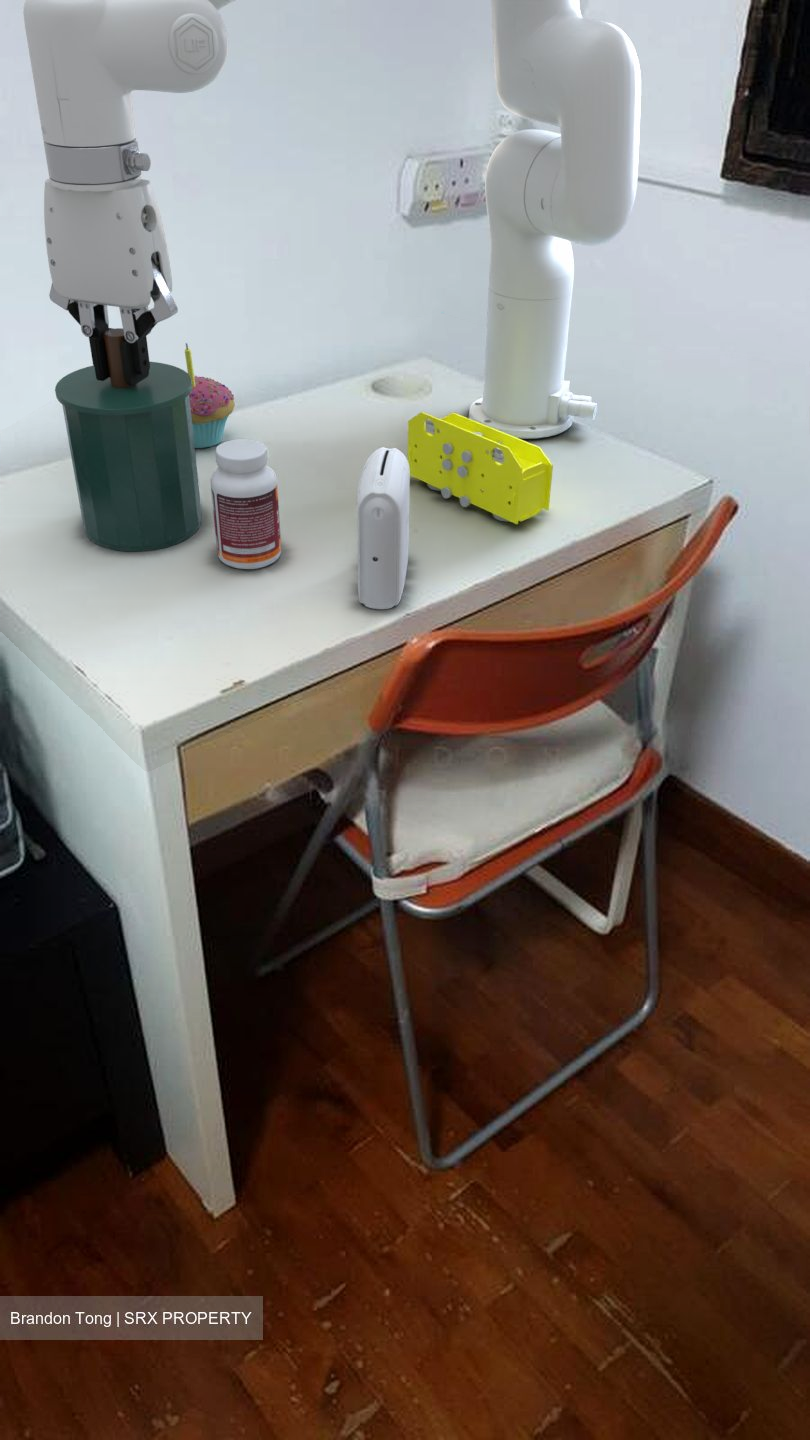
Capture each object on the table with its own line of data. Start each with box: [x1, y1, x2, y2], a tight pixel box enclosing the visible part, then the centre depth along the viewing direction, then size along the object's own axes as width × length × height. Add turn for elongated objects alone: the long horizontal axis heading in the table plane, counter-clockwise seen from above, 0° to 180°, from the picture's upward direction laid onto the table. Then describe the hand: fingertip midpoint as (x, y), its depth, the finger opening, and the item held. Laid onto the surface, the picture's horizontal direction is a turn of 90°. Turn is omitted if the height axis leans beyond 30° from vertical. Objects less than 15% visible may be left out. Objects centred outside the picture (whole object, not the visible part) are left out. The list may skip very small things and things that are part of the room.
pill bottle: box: [210, 438, 282, 570], centre depth 108 cm, size 6×6×11 cm
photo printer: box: [356, 446, 411, 610], centre depth 103 cm, size 10×4×12 cm, turn 175°
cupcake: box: [184, 342, 236, 449], centre depth 130 cm, size 9×8×12 cm
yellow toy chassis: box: [407, 411, 554, 525], centre depth 119 cm, size 16×6×8 cm, turn 43°
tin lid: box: [54, 327, 192, 415], centre depth 106 cm, size 13×13×6 cm
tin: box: [61, 395, 203, 552], centre depth 112 cm, size 12×12×14 cm
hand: (123, 376), depth 107 cm, fingers closed on tin lid, 2 cm apart
